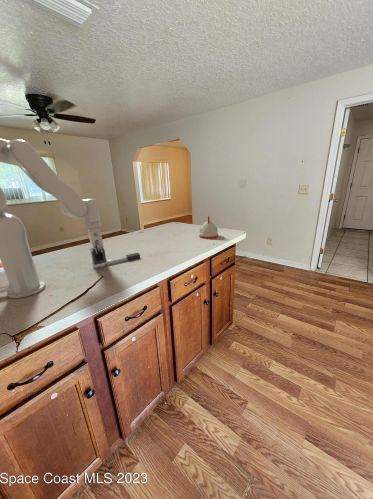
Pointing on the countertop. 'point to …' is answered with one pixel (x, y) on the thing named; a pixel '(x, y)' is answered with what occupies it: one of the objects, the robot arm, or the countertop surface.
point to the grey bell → (208, 230)
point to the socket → (95, 256)
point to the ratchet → (117, 260)
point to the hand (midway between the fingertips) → (98, 257)
